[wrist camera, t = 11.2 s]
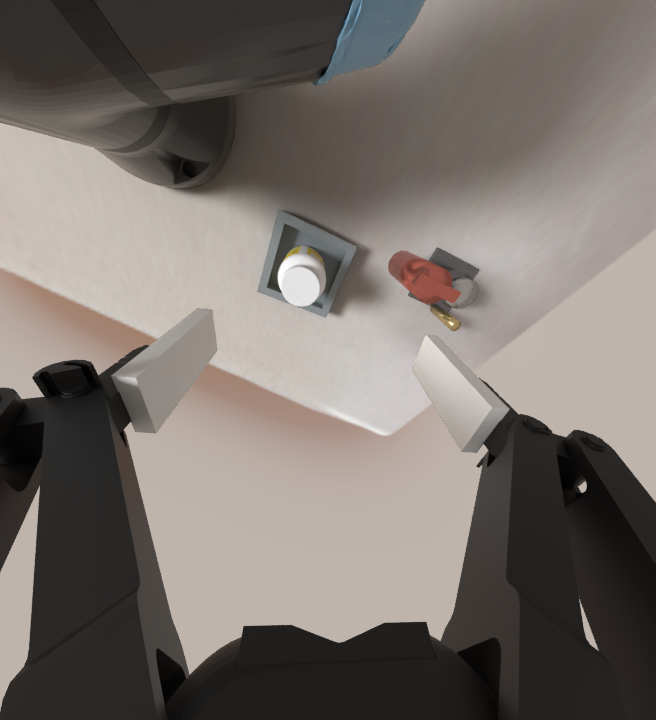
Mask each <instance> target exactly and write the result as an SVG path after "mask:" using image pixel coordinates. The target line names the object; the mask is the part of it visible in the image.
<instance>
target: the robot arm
mask: <svg viewBox="0 0 656 720" xmlns="http://www.w3.org/2000/svg"><path fill="white" fill-rule="evenodd" d="M424 2H425V0H0V123H4V124H8V125H12V126H15V127H19V128H23V129H27V130H30V131H34V132H38V133H42V134H45V135H49V136H53V137H56V138H60V139H64V140H68V141H71V142H75V143H79V144H83V145H86V146H90V147H94V148H95V149H97V150H98V151H99V152H101V153H102V154H103V155H105V156H106V157H107V158H109V159H110V160H111V161H113V162H114V163H115V164H117V165H118V166H120V167H121V168H122V169H124V170H125V171H127V172H129V173H130V174H132V175H134V176H136V177H138V178H140V179H142V180H144V181H147V182H150V183H153V184H156V185H160V186H166V187H172V188H191V187H195V186H198V185H201V184H203V183H205V182H207V181H208V180H210V179H211V178H212V177H213V176H215V175H216V173H217V172H218V171H219V170H220V169H221V167H222V166H223V164H224V163H225V161H226V159H227V157H228V154H229V152H230V149H231V145H232V141H233V136H234V129H235V102H234V95H236V94H242V93H248V92H254V91H260V90H266V89H272V88H278V87H284V86H290V85H297V84H303V83H309V82H313V84H314V85H315V86H317V85H323V84H325V83H327V82H328V81H329V80H330V79H331V78H332V76H336V75H340V74H344V73H348V72H352V71H356V70H360V69H364V68H368V67H372V66H375V65H377V64H379V63H381V62H382V61H384V60H385V59H387V58H388V57H389V56H390V55H391V54H392V53H393V52H394V51H395V49H396V48H397V47H398V45H399V44H400V42H401V41H402V40H403V38H404V37H405V35H406V33H407V31H408V30H409V29H410V28H411V26H412V25H413V23H414V22H415V20H416V18H417V16H418V14H419V12H420V10H421V8H422V6H423V4H424ZM216 352H217V343H216V335H215V327H214V320H213V312H212V310H211V309H202V308H198V309H196V310H195V311H194V312H193V313H191V314H190V315H189V316H187V317H186V318H185V319H184V320H182V321H181V322H180V323H178V324H177V325H176V326H175V327H173V328H172V329H171V330H169V331H168V332H167V333H166V334H164V335H163V336H162V337H160V338H159V339H158V340H156V341H155V342H154V343H153V344H151V345H145V346H142V347H140V348H137V349H135V350H133V351H132V352H130V353H129V354H127V355H126V356H125V358H122V359H120V360H119V361H118V363H115V364H114V365H113V366H111V367H110V368H108V369H107V370H105V371H104V372H103V373H101V374H100V375H99V376H98V374H97V372H96V370H95V368H94V366H93V364H92V363H91V362H89V361H86V360H71V361H63V362H59V363H55V364H52V365H49V366H47V367H44V368H42V369H41V370H39V371H38V372H36V373H35V374H34V376H33V380H34V381H35V383H36V384H37V386H38V387H39V389H40V390H41V392H42V393H43V395H44V396H45V397H39V398H30V399H21V398H20V396H19V395H18V394H17V392H16V391H15V390H14V389H10V388H0V571H1V569H2V567H3V565H4V562H5V560H6V558H7V556H8V554H9V551H10V549H11V547H12V545H13V543H14V541H15V538H16V536H17V534H18V532H19V530H20V527H21V525H22V523H23V521H24V519H25V516H26V514H27V512H28V510H29V507H30V505H31V503H32V501H33V499H34V497H35V495H36V492H37V490H38V488H39V486H40V495H39V510H38V524H37V525H38V526H37V539H36V540H37V541H36V554H35V569H34V585H33V598H32V614H31V629H30V642H29V652H28V658H27V660H26V663H25V665H24V667H23V668H22V670H21V671H20V672H19V673H18V674H17V675H16V676H15V678H14V679H13V680H12V681H11V682H10V684H9V686H8V689H7V691H6V693H5V696H4V698H3V702H2V707H1V711H0V720H656V502H655V501H654V500H653V499H652V497H651V496H650V495H649V494H648V492H647V491H646V490H645V489H644V487H643V486H642V485H641V483H640V482H639V481H638V480H637V478H636V477H635V476H634V475H633V473H632V472H631V471H630V470H629V468H628V467H627V466H626V465H625V463H624V462H623V461H622V460H621V458H620V457H619V456H618V455H617V453H616V452H615V451H614V450H613V449H612V448H611V447H610V446H609V445H608V444H607V443H605V442H604V441H603V440H602V439H600V438H599V437H598V438H597V436H595V435H593V434H589V433H587V432H584V431H580V430H574V431H572V432H571V433H570V434H569V435H568V436H567V437H562V436H559V435H556V434H553V433H552V431H551V430H550V429H549V428H548V427H547V426H546V425H545V424H543V423H542V422H541V421H539V420H537V419H535V418H533V417H530V416H528V415H523V414H520V415H519V414H518V413H517V412H516V411H514V409H513V408H511V406H510V405H509V404H508V403H506V402H505V401H504V400H503V399H502V398H501V397H499V395H498V394H497V393H496V392H495V391H494V390H493V389H492V388H491V387H490V386H489V385H488V384H487V383H486V382H484V381H483V380H481V379H480V378H478V377H477V376H476V375H475V374H474V373H473V372H472V371H471V370H470V369H469V368H468V367H467V366H466V365H465V364H464V363H463V362H462V361H461V360H460V359H459V358H458V357H457V356H456V355H455V354H454V353H453V352H452V351H451V350H450V349H449V347H448V346H447V345H446V344H445V343H444V342H443V341H442V340H441V339H440V338H439V337H438V336H434V335H425V338H424V340H423V343H422V345H421V348H420V350H419V353H418V355H417V358H416V360H415V363H414V365H413V368H412V371H413V373H414V375H415V376H416V378H417V380H418V381H419V383H420V384H421V386H422V388H423V389H424V391H425V393H426V394H427V396H428V398H429V399H430V401H431V402H432V404H433V406H434V407H435V409H436V411H437V412H438V414H439V416H440V417H441V419H442V421H443V422H444V424H445V425H446V427H447V429H448V430H449V432H450V433H451V435H452V437H453V439H454V440H455V442H456V444H457V445H458V447H459V448H460V450H461V452H475V453H477V452H478V450H479V449H480V448H481V446H482V445H483V444H484V445H485V446H486V447H487V449H488V450H489V451H488V452H487V453H486V454H485V456H484V457H483V458H482V459H481V461H480V462H479V463H478V465H477V467H478V468H479V467H480V466H481V465H483V466H482V471H481V477H480V481H479V486H478V491H477V496H476V501H475V507H474V512H473V517H472V522H471V527H470V532H469V537H468V542H467V547H466V553H465V557H464V563H463V568H462V573H461V578H460V583H459V588H458V593H457V598H456V603H455V608H454V612H453V615H452V617H451V619H450V621H449V623H448V625H447V626H446V628H445V631H444V633H443V636H442V639H441V641H439V640H437V639H436V638H434V637H432V636H430V634H429V631H428V627H427V623H426V622H400V623H383V624H381V625H379V626H377V627H374V628H372V629H370V630H368V631H366V632H364V633H362V634H360V635H358V636H355V637H353V638H351V639H349V640H347V641H345V642H341V643H337V642H334V641H331V640H329V639H326V638H323V637H321V636H318V635H316V634H313V633H311V632H308V631H305V630H303V629H300V628H298V627H295V626H292V625H272V626H244V627H243V633H242V637H241V638H239V639H236V640H234V641H232V642H230V643H229V644H227V645H225V646H223V647H222V648H220V649H219V650H217V651H216V652H215V653H213V654H212V655H211V656H210V657H208V658H207V659H206V660H205V661H204V662H203V663H202V664H200V665H199V667H198V668H196V669H195V670H194V671H193V672H192V673H191V674H190V675H189V671H188V667H187V664H186V660H185V656H184V652H183V649H182V645H181V642H180V639H179V636H178V633H177V631H176V628H175V626H174V623H173V620H172V617H171V613H170V609H169V605H168V601H167V598H166V593H165V589H164V585H163V581H162V577H161V573H160V569H159V565H158V561H157V557H156V553H155V549H154V545H153V541H152V537H151V533H150V529H149V525H148V521H147V517H146V513H145V508H144V504H143V500H142V497H141V493H140V488H139V484H138V480H137V476H136V472H135V469H134V465H133V460H132V456H131V453H130V449H129V444H128V440H127V436H126V433H125V431H124V429H125V427H126V426H127V425H128V424H129V423H130V422H131V423H132V425H133V427H134V430H135V432H146V433H157V431H158V430H159V429H160V427H161V426H162V425H163V423H164V422H165V420H166V419H167V418H168V417H169V415H170V414H171V413H172V411H173V410H174V409H175V407H176V406H177V404H178V403H179V402H180V400H181V399H182V398H183V396H184V395H185V394H186V392H187V391H188V390H189V388H190V387H191V385H192V384H193V383H194V382H195V380H196V379H197V378H198V376H199V375H200V373H201V372H202V371H203V369H204V368H205V367H206V365H207V364H208V363H209V361H210V360H211V359H212V357H213V356H214V355H215V353H216ZM585 481H586V483H587V489H586V491H585V492H584V493H581V492H580V490H579V488H578V486H580V485H581V484H582V483H583V482H585ZM579 599H580V601H581V604H582V607H583V609H584V612H585V615H586V617H587V620H588V622H589V625H590V628H591V631H592V633H593V636H594V639H595V642H596V644H597V647H598V649H599V651H598V650H596V649H595V648H594V647H592V646H591V645H590V644H589V642H588V641H587V639H586V637H585V633H584V628H583V622H582V615H581V608H580V603H579Z"/></svg>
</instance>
